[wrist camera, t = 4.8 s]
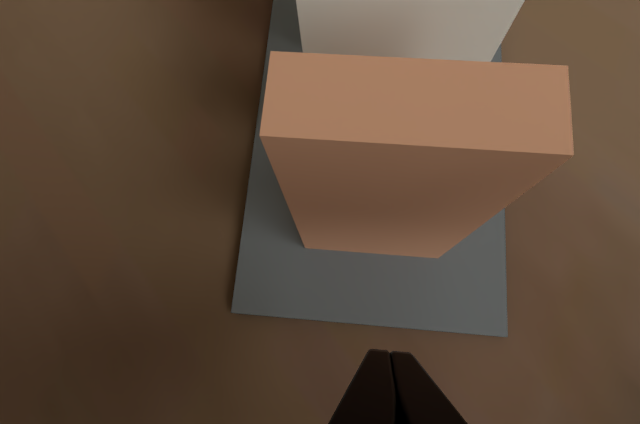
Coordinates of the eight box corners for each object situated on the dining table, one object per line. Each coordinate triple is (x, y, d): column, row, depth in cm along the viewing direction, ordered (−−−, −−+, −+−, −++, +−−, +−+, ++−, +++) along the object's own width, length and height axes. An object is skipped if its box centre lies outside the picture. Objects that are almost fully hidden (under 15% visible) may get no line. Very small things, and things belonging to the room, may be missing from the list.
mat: (503, 337, 16) (507, 336, 16) (233, 313, 17) (230, 312, 16) (493, -142, 22) (496, -150, 22) (294, -146, 23) (293, -154, 22)
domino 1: (439, 153, 18) (559, -62, 8) (315, 145, 18) (286, -71, 8) (440, 116, 18) (554, -130, 8) (318, 109, 18) (295, -136, 9)
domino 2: (437, 258, 17) (573, 155, 7) (305, 248, 17) (259, 135, 7) (438, 217, 17) (568, 65, 7) (308, 207, 17) (270, 51, 8)
